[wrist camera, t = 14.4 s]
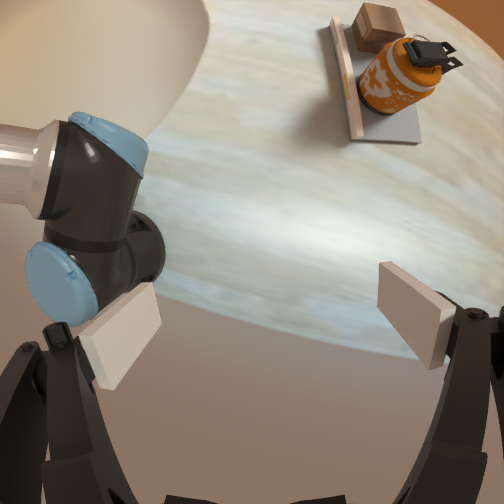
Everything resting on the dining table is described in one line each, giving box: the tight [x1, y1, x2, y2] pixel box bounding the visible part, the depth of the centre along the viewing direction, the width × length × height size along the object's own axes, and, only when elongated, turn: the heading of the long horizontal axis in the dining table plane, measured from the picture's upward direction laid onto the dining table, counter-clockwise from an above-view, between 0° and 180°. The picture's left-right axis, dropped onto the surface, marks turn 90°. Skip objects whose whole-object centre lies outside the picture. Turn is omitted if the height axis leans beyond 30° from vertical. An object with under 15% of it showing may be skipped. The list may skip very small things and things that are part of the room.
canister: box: [356, 34, 463, 116], centre depth 28 cm, size 9×11×20 cm
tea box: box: [351, 3, 406, 54], centre depth 31 cm, size 6×6×9 cm
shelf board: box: [329, 16, 422, 144], centre depth 36 cm, size 14×24×4 cm, turn 5°
